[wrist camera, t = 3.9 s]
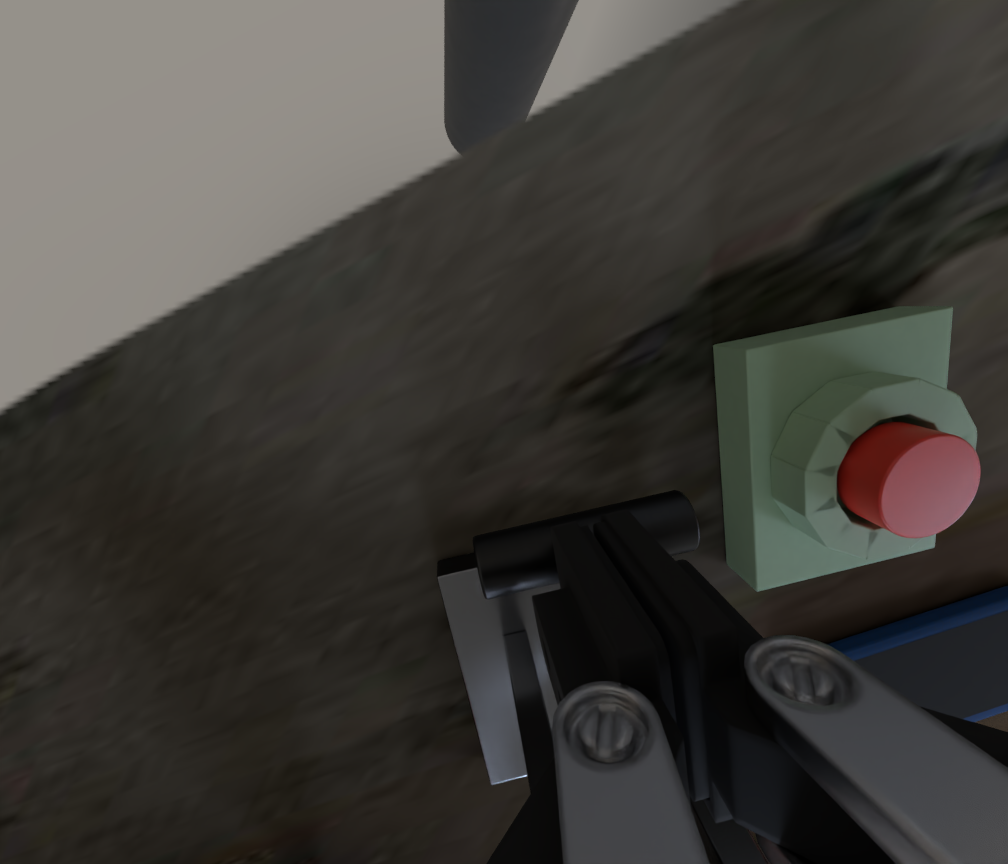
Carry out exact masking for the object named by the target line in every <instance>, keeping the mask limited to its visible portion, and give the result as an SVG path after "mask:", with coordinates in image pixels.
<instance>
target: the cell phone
mask: <svg viewBox="0 0 1008 864" xmlns="http://www.w3.org/2000/svg"><path fill="white" fill-rule="evenodd" d="M827 645H829V646H831V647H833V648H834V649H836V650H838V651H840V652H842V653H843V654H845V655H846V656H848V657H849V658H851V659H852V660H853V661H855V662H856V663H858V664H859V665H861V666H862V667H863V668H865V669H866V670H868V671H869V672H871V673H872V674H874V675H875V676H876V677H878V678H879V679H881V680H882V681H884V682H885V683H887V684H888V685H889V686H891V687H892V688H894V689H895V690H897V691H898V692H899V693H901V694H902V695H904V696H905V697H907V698H908V699H910V700H911V701H912V702H914V703H915V704H917V705H918V706H920V707H924V708H927V709H930V710H934V711H937V712H941V713H944V714H947V715H951V716H954V717H958V718H961V719H964V720H968V721H971V722H976V721H979V720H982V719H985V718H988V717H991V716H994V715H996V714H999V713H1002V712H1005V711H1008V586H1004V587H1001V588H998V589H995V590H992V591H989V592H986V593H983V594H980V595H977V596H974V597H971V598H967V599H964V600H961V601H958V602H955V603H952V604H949V605H946V606H943V607H940V608H937V609H934V610H931V611H928V612H925V613H921V614H918V615H915V616H912V617H909V618H906V619H903V620H900V621H897V622H894V623H891V624H888V625H885V626H882V627H879V628H876V629H872V630H869V631H866V632H863V633H860V634H857V635H854V636H851V637H848V638H845V639H842V640H839V641H836V642H833V643H830V644H827Z"/></svg>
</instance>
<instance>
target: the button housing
mask: <svg viewBox="0 0 1008 864" xmlns="http://www.w3.org/2000/svg"><path fill="white" fill-rule="evenodd" d="M952 313H953V307H950V306H898V307H893V308H888V309H883V310H878V311H874V312H869V313H864V314H859V315H854V316H850V317H845V318H840V319H835V320H830V321H826V322H821V323H816V324H811V325H807V326H802V327H797V328H792V329H787V330H783V331H778V332H773V333H768V334H763V335H759V336H754V337H749V338H744V339H739V340H735V341H730V342H725V343H720V344H715V345H713V352H714V368H715V384H716V400H717V416H718V432H719V448H720V464H721V480H722V496H723V512H724V528H725V544H726V560H727V565H728V566H729V567H730V568H732V569H733V570H734V571H735V572H736V573H737V574H738V575H739V576H740V577H741V578H743V579H744V580H745V581H746V582H747V583H748V584H749V585H750V586H751V587H752V588H754V589H755V590H756V591H762V590H766V589H770V588H774V587H778V586H782V585H786V584H790V583H794V582H798V581H802V580H806V579H810V578H814V577H818V576H822V575H826V574H830V573H834V572H838V571H842V570H846V569H850V568H854V567H858V566H862V565H866V564H870V563H875V562H879V561H883V560H887V559H891V558H895V557H899V556H903V555H907V554H911V553H915V552H919V551H923V550H927V549H931V548H934V547H935V537H936V534H934V535H931V536H928V537H923V538H905V537H901V536H898V535H896V534H894V533H892V532H890V531H888V530H886V529H884V528H882V527H880V526H878V525H876V524H874V523H872V522H870V521H868V520H866V519H864V518H862V517H860V516H858V515H856V514H854V513H853V512H851V511H850V510H849V509H848V508H847V507H846V506H845V505H844V504H843V502H842V500H841V498H840V496H839V493H838V489H837V474H838V469H839V466H840V464H841V462H842V460H843V458H844V457H845V455H846V453H847V451H848V449H849V447H850V446H851V444H852V443H853V442H854V441H855V440H856V439H857V438H858V437H859V436H860V435H862V434H863V433H865V432H866V431H867V430H869V429H871V428H873V427H875V426H877V425H880V424H884V423H889V422H905V423H909V424H913V425H917V426H921V427H925V428H929V429H933V430H937V431H941V432H945V433H949V434H953V435H956V436H959V437H961V438H963V439H964V440H966V441H967V442H968V443H969V444H970V445H971V446H972V447H973V448H974V450H975V451H976V440H977V432H976V431H977V428H976V427H975V425H974V423H973V421H972V419H971V417H970V415H969V413H968V411H967V409H966V407H965V406H964V404H963V402H962V400H961V398H960V396H959V395H957V394H956V393H955V392H952V391H950V390H947V378H948V365H949V352H950V339H951V326H952Z"/></svg>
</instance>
